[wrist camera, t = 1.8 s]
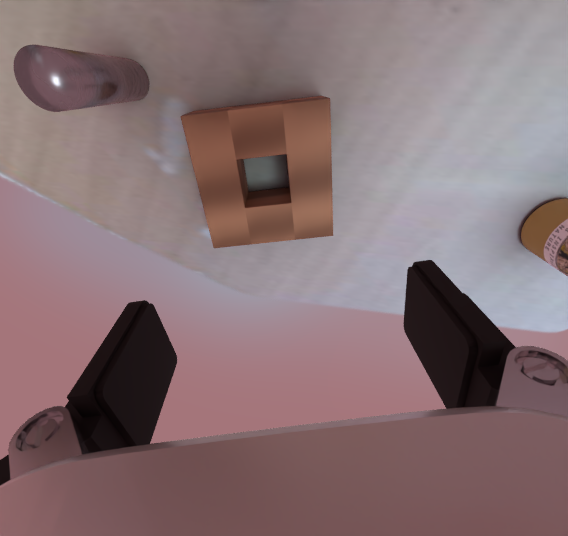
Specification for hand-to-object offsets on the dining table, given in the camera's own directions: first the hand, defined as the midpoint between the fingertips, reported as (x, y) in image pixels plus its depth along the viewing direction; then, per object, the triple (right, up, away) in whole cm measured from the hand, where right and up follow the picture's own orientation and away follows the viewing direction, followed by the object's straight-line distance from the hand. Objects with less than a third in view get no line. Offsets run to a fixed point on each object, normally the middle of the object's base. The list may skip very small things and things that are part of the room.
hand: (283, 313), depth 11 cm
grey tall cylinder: (-14, +18, +16) cm, 28 cm away
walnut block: (-2, +12, +20) cm, 24 cm away
